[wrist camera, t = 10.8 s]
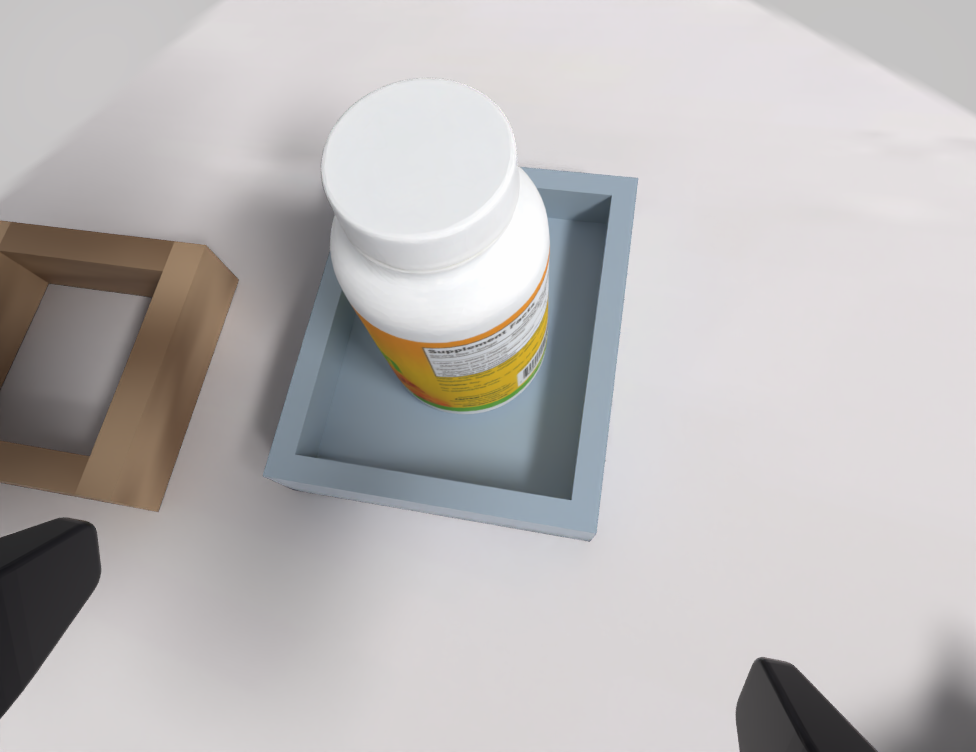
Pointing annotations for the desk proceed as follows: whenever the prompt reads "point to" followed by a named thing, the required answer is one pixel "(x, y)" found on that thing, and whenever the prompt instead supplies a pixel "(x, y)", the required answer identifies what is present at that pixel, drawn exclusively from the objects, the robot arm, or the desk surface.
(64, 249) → the frame
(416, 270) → the supplement bottle
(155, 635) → the desk surface
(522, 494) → the tray
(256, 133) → the desk surface
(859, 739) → the robot arm
